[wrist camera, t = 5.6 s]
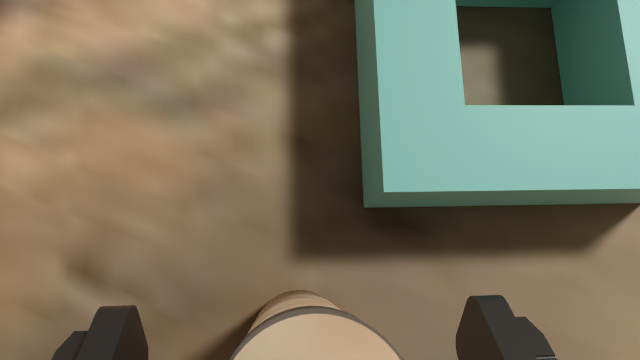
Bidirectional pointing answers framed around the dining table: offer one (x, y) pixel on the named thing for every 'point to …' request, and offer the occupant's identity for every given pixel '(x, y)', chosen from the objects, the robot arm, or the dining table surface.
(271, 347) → the tan banded cylinder
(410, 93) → the teal square frame
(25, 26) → the dining table surface
